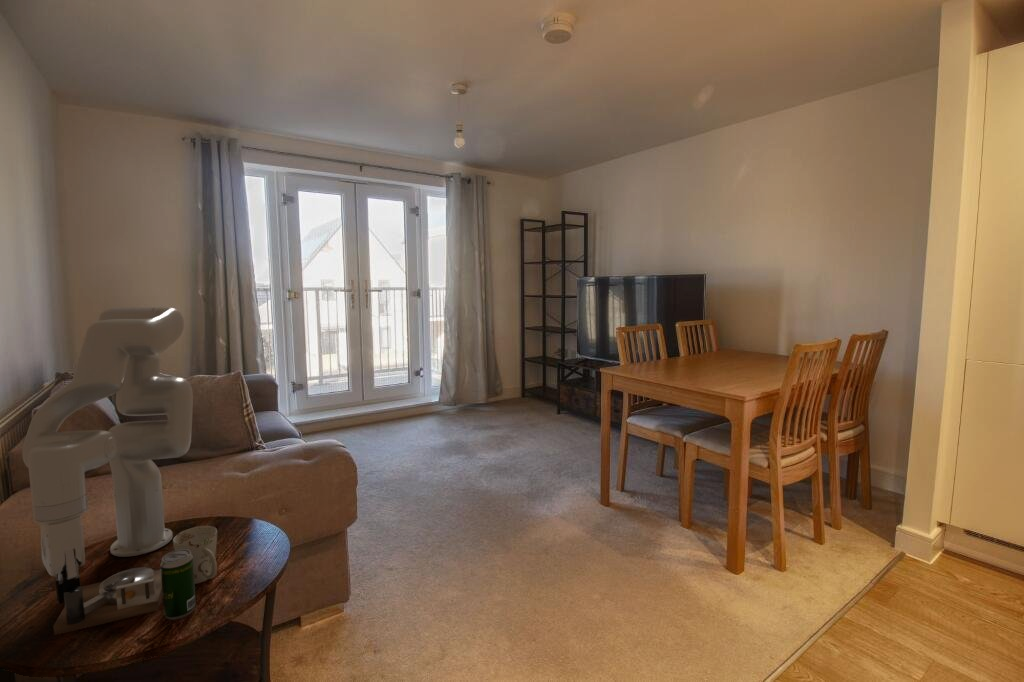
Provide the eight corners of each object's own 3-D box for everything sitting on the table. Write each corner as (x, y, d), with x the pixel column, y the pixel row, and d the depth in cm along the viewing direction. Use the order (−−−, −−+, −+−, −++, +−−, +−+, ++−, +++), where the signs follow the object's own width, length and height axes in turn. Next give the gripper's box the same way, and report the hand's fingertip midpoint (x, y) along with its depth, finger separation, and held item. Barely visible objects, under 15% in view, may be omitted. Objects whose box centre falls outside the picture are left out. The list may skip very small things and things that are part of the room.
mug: (207, 562, 116) (204, 522, 115) (238, 578, 110) (235, 536, 109) (168, 580, 109) (165, 538, 108) (199, 598, 103) (196, 554, 102)
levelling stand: (76, 596, 103) (74, 567, 102) (168, 576, 111) (166, 549, 110) (53, 637, 91) (49, 605, 90) (157, 612, 98) (155, 582, 98)
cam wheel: (134, 574, 107) (132, 548, 107) (165, 582, 105) (163, 555, 104) (51, 619, 93) (48, 589, 92) (84, 629, 90) (82, 599, 90)
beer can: (201, 602, 102) (198, 547, 100) (187, 620, 96) (183, 562, 95) (174, 604, 101) (170, 549, 100) (158, 621, 96) (153, 563, 94)
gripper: (26, 503, 94) (35, 592, 96) (41, 527, 85) (50, 625, 87) (77, 490, 100) (85, 575, 102) (96, 511, 91) (104, 604, 93)
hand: (69, 598), depth 94 cm, fingers closed
